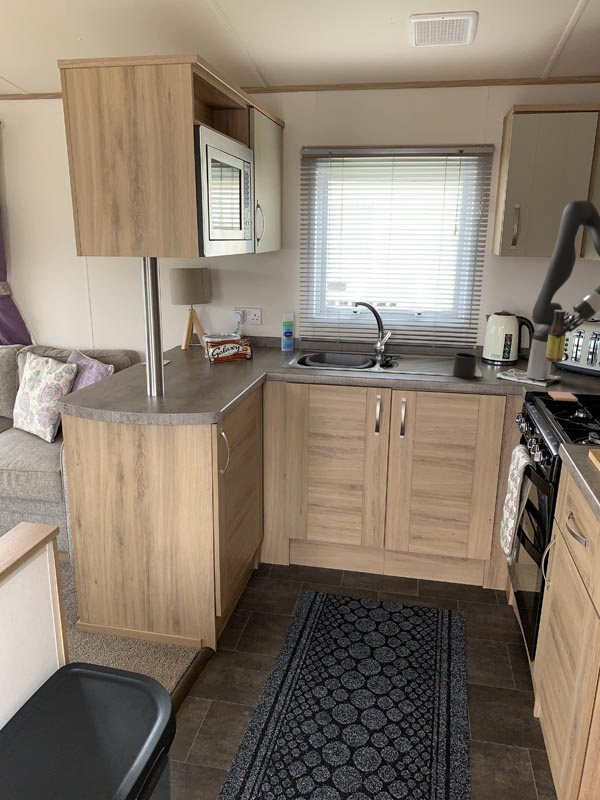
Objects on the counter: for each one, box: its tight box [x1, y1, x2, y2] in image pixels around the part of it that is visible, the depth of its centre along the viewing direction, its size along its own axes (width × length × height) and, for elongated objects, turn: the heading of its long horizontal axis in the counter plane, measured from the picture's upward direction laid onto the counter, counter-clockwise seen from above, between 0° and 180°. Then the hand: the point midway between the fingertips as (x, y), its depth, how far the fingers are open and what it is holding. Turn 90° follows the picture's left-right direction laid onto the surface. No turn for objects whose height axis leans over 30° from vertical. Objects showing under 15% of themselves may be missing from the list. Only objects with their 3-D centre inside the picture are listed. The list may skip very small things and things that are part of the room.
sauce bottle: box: [546, 309, 567, 363], centre depth 236 cm, size 6×6×20 cm
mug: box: [452, 352, 478, 379], centre depth 267 cm, size 9×12×9 cm
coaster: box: [547, 390, 579, 402], centre depth 241 cm, size 8×8×1 cm
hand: (553, 334), depth 236 cm, fingers closed on sauce bottle, 6 cm apart
